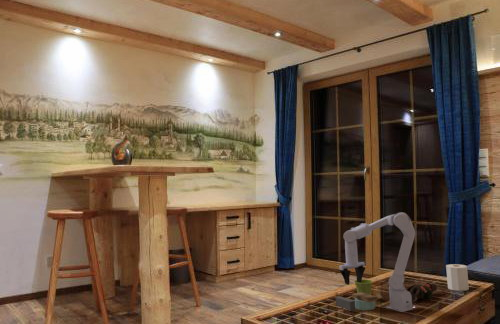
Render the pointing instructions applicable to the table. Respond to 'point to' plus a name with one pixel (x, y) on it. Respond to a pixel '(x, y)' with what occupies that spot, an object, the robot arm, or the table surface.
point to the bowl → (364, 305)
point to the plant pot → (364, 286)
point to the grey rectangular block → (345, 303)
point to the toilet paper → (457, 277)
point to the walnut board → (364, 297)
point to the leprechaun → (422, 291)
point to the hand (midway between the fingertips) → (353, 283)
